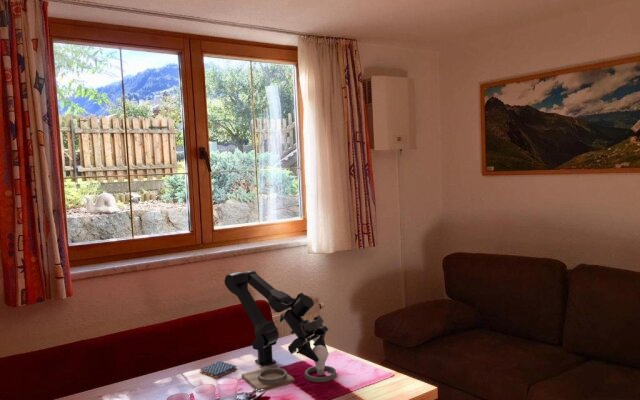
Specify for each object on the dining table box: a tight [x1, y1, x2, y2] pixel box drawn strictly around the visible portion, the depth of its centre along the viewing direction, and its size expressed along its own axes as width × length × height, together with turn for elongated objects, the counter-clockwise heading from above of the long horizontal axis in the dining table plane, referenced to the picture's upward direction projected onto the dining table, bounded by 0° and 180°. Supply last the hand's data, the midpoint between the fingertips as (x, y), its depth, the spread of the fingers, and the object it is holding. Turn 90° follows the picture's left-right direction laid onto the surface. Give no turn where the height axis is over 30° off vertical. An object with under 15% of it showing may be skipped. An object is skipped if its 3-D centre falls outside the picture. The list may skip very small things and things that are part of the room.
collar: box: [304, 365, 337, 383], centre depth 180 cm, size 11×11×2 cm
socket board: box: [241, 365, 296, 391], centre depth 178 cm, size 15×14×2 cm
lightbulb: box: [312, 345, 329, 377], centre depth 179 cm, size 6×6×11 cm
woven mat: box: [199, 360, 238, 379], centre depth 188 cm, size 10×11×2 cm
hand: (322, 358), depth 178 cm, fingers closed on lightbulb, 6 cm apart
